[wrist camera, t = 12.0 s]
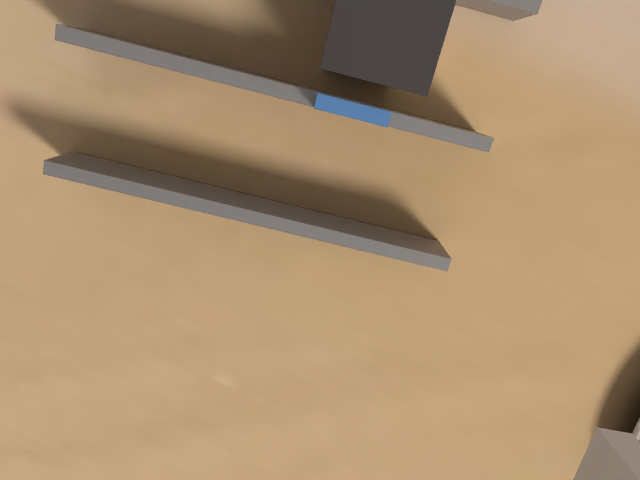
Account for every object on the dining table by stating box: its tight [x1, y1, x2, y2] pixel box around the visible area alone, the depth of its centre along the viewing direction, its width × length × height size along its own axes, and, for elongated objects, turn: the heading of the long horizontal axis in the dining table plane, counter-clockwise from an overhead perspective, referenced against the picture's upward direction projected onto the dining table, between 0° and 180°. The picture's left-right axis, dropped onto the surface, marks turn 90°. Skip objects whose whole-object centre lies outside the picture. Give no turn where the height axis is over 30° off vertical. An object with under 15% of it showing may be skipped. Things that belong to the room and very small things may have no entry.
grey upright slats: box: [43, 0, 542, 271], centre depth 29 cm, size 24×15×4 cm, turn 76°
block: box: [320, 0, 456, 96], centre depth 24 cm, size 4×4×12 cm
